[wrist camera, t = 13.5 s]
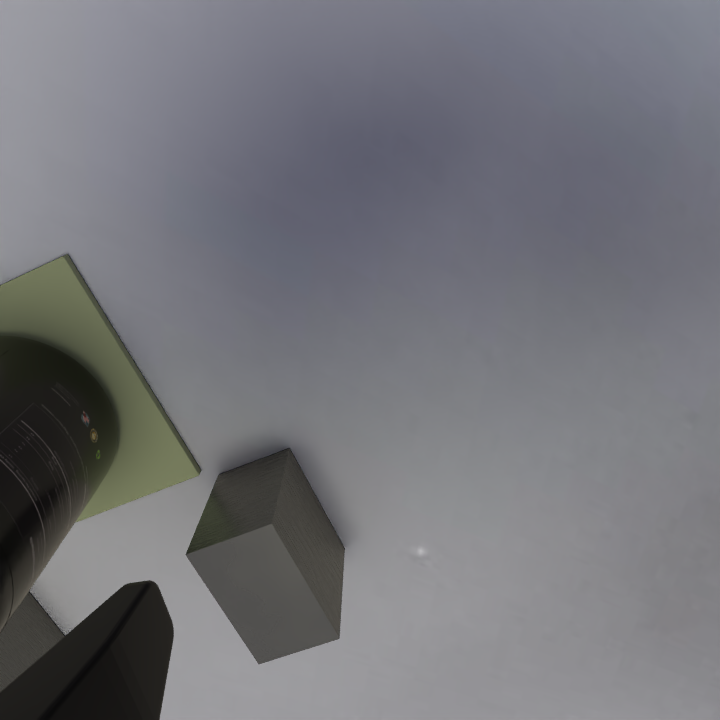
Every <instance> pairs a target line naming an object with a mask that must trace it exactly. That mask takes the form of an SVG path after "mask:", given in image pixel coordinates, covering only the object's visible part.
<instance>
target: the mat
mask: <svg viewBox="0 0 720 720" xmlns="http://www.w3.org/2000/svg"><path fill="white" fill-rule="evenodd" d="M0 336H17V337H23V338H28V339H32V340H36V341H39V342H42V343H45V344H47V345H50V346H52V347H54V348H56V349H59V350H60V351H62V352H64V353H66V354H67V355H69V356H70V357H72V358H73V359H75V360H76V361H77V362H79V363H80V364H81V365H82V366H83V367H85V368H86V369H87V370H88V371H89V372H90V373H91V374H92V375H93V377H94V378H95V379H96V380H97V381H98V383H99V384H100V385H101V387H102V388H103V390H104V391H105V393H106V395H107V397H108V399H109V401H110V403H111V405H112V408H113V411H114V414H115V418H116V422H117V428H118V441H117V449H116V454H115V457H114V460H113V463H112V465H111V467H110V469H109V471H108V473H107V475H106V476H105V478H104V479H103V481H102V482H101V484H100V486H99V487H98V489H97V490H96V492H95V494H94V495H93V497H92V498H91V500H90V501H89V503H88V504H87V505H86V507H85V508H84V510H83V511H82V513H81V514H80V516H79V517H78V519H77V520H76V522H78V521H81V520H83V519H86V518H88V517H91V516H94V515H96V514H99V513H102V512H104V511H107V510H109V509H112V508H115V507H117V506H120V505H122V504H125V503H128V502H130V501H133V500H136V499H138V498H141V497H143V496H146V495H149V494H151V493H154V492H157V491H159V490H162V489H164V488H167V487H170V486H172V485H175V484H178V483H180V482H183V481H185V480H188V479H191V478H193V477H196V476H198V475H199V474H200V472H201V470H200V468H199V467H198V465H197V463H196V462H195V460H194V458H193V457H192V455H191V454H190V452H189V450H188V449H187V447H186V445H185V444H184V442H183V441H182V439H181V437H180V436H179V434H178V433H177V431H176V429H175V428H174V426H173V424H172V423H171V421H170V420H169V418H168V416H167V415H166V413H165V411H164V410H163V408H162V407H161V405H160V403H159V402H158V400H157V398H156V397H155V395H154V394H153V392H152V390H151V389H150V387H149V386H148V384H147V382H146V381H145V379H144V377H143V376H142V374H141V373H140V371H139V369H138V368H137V366H136V364H135V363H134V361H133V360H132V358H131V356H130V355H129V353H128V352H127V350H126V348H125V347H124V345H123V343H122V342H121V340H120V339H119V337H118V335H117V334H116V332H115V330H114V329H113V327H112V326H111V324H110V322H109V321H108V319H107V318H106V316H105V314H104V313H103V311H102V309H101V308H100V306H99V305H98V303H97V301H96V300H95V298H94V296H93V295H92V293H91V292H90V290H89V288H88V287H87V285H86V284H85V282H84V280H83V279H82V277H81V275H80V274H79V272H78V271H77V269H76V267H75V266H74V264H73V262H72V261H71V259H70V258H69V256H68V254H67V255H64V256H62V257H60V258H58V259H56V260H54V261H52V262H49V263H47V264H45V265H43V266H41V267H39V268H37V269H34V270H32V271H30V272H28V273H26V274H24V275H22V276H19V277H17V278H15V279H13V280H11V281H9V282H7V283H5V284H2V285H0Z"/></svg>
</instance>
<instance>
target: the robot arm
mask: <svg viewBox="0 0 720 720" xmlns="http://www.w3.org/2000/svg"><path fill="white" fill-rule="evenodd" d="M173 637H174V630H173V623H172V620H171V617H170V615H169V612H168V610H167V607H166V605H165V602H164V600H163V597H162V594H161V592H160V589H159V587H158V585H157V584H156V583H155V582H153V581H142V582H134V583H129V584H126V585H124V586H123V587H121V588H120V589H119V590H118V591H117V592H116V593H114V594H113V595H112V596H111V597H110V598H109V599H108V600H106V601H105V602H104V603H103V604H102V605H101V606H99V607H98V608H97V609H96V610H95V611H94V612H92V613H91V614H90V615H89V616H88V617H87V618H86V619H84V620H83V621H82V622H81V623H80V624H79V625H77V626H76V627H75V628H74V629H73V630H72V631H71V632H69V633H68V634H67V635H66V636H65V637H64V638H62V639H61V640H60V641H59V642H58V643H57V644H55V645H54V646H53V647H52V648H51V649H50V650H48V651H47V652H46V653H45V654H44V655H43V656H42V657H40V658H39V659H38V660H37V661H36V662H35V663H33V664H32V665H31V666H30V667H29V668H28V669H26V670H25V671H24V672H23V673H22V674H21V675H20V676H18V677H17V678H16V679H15V680H14V681H13V682H11V683H10V684H9V685H8V686H7V687H6V688H4V689H3V690H2V691H1V692H0V720H159V719H160V713H161V707H162V702H163V696H164V690H165V684H166V679H167V673H168V667H169V661H170V656H171V650H172V644H173Z"/></svg>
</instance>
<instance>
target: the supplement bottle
mask: <svg viewBox="0 0 720 720" xmlns="http://www.w3.org/2000/svg"><path fill="white" fill-rule="evenodd" d="M117 441H118V428H117V422H116V418H115V414H114V411H113V408H112V405H111V403H110V401H109V399H108V397H107V395H106V393H105V391H104V390H103V388H102V387H101V385H100V384H99V383H98V381H97V380H96V379H95V378H94V377H93V375H92V374H91V373H90V372H89V371H88V370H87V369H86V368H85V367H83V366H82V365H81V364H80V363H79V362H77V361H76V360H75V359H73V358H72V357H70V356H69V355H67V354H66V353H64V352H62V351H60V350H59V349H56V348H54V347H52V346H50V345H47V344H45V343H42V342H39V341H36V340H32V339H28V338H23V337H17V336H0V633H1V632H2V630H3V629H4V627H5V626H6V624H7V623H8V622H9V620H10V619H11V617H12V616H13V614H14V613H15V611H16V610H17V608H18V607H19V605H20V604H21V602H22V601H23V599H24V598H25V596H26V595H27V593H28V592H29V590H30V589H31V587H32V586H33V584H34V583H35V581H36V580H37V578H38V577H39V575H40V574H41V572H42V571H43V569H44V568H45V566H46V565H47V564H48V562H49V561H50V559H51V558H52V556H53V555H54V553H55V552H56V550H57V549H58V547H59V546H60V544H61V543H62V541H63V540H64V538H65V537H66V535H67V534H68V532H69V531H70V529H71V528H72V526H73V525H74V523H75V522H76V520H77V519H78V517H79V516H80V514H81V513H82V511H83V510H84V508H85V507H86V505H87V504H88V503H89V501H90V500H91V498H92V497H93V495H94V494H95V492H96V490H97V489H98V487H99V486H100V484H101V482H102V481H103V479H104V478H105V476H106V475H107V473H108V471H109V469H110V467H111V465H112V463H113V460H114V457H115V454H116V449H117Z"/></svg>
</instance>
